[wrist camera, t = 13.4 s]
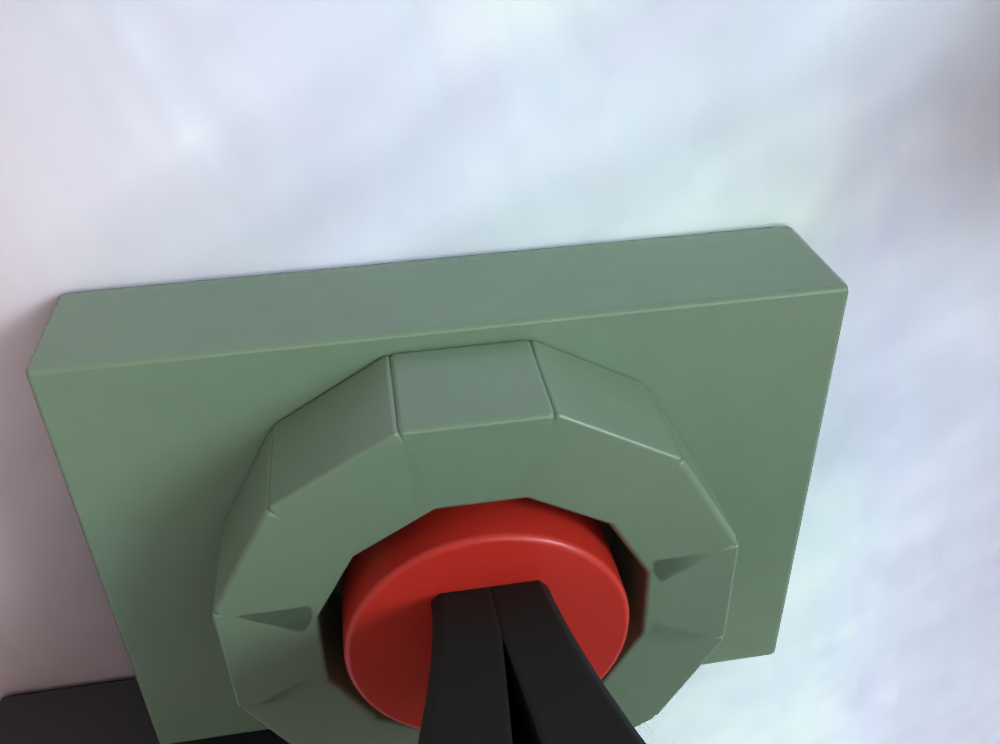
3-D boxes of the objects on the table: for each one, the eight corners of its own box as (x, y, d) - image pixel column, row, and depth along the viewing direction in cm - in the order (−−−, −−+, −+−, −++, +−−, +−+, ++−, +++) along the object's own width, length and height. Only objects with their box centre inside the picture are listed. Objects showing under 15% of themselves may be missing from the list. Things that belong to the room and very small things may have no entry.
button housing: (173, 651, 16) (143, 846, 13) (59, 291, 12) (-20, 459, 10) (734, 573, 17) (816, 738, 15) (790, 223, 14) (917, 354, 11)
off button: (355, 651, 14) (359, 755, 13) (324, 461, 12) (325, 559, 11) (593, 618, 14) (624, 714, 13) (602, 428, 12) (639, 518, 11)
